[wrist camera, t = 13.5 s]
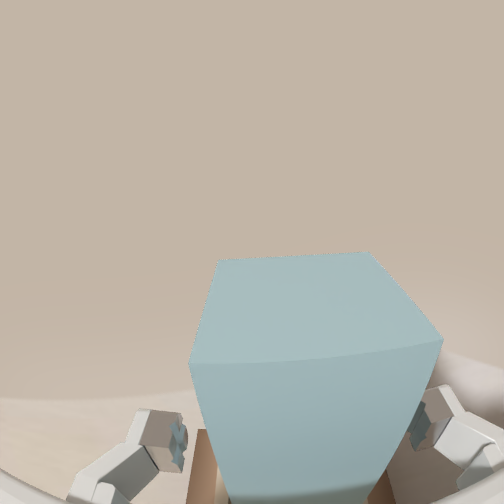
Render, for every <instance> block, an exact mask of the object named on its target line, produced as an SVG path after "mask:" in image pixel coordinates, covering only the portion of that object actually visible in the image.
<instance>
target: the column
mask: <svg viewBox="0 0 504 504" xmlns="http://www.w3.org/2000/svg"><path fill="white" fill-rule="evenodd" d="M443 340H444V339H443V338H442V336H441V335H440V334H439V332H438V331H437V330H436V329H435V327H434V326H433V325H432V324H431V322H430V321H429V320H428V319H427V318H426V316H425V315H424V314H423V313H422V311H421V310H420V309H419V308H418V307H417V306H416V304H415V303H414V302H413V301H412V300H411V299H410V297H409V296H408V295H407V294H406V293H405V291H404V290H403V289H402V288H401V287H400V286H399V285H398V283H397V282H396V281H395V280H394V279H393V278H392V277H391V276H390V275H389V274H388V272H387V271H386V270H385V269H384V268H383V267H382V266H381V265H380V263H379V262H378V261H377V260H376V259H375V258H374V257H373V256H372V255H371V254H370V253H369V252H357V253H339V254H323V255H303V256H287V257H286V256H285V257H268V258H267V257H266V258H248V259H228V260H218V263H217V267H216V270H215V273H214V277H213V280H212V283H211V286H210V290H209V294H208V297H207V300H206V303H205V307H204V310H203V314H202V317H201V320H200V324H199V327H198V331H197V334H196V338H195V342H194V345H193V348H192V352H191V355H190V359H189V363H188V364H189V368H190V372H191V376H192V380H193V384H194V388H195V391H196V395H197V399H198V402H199V406H200V409H201V413H202V416H203V420H204V423H205V427H206V430H207V433H208V436H209V440H210V443H211V446H212V449H213V452H214V455H215V458H216V461H217V464H218V467H219V470H220V473H221V476H222V479H223V481H224V484H225V487H226V490H227V493H228V495H229V498H230V501H231V503H232V504H363V502H364V501H365V499H366V498H367V497H368V495H369V494H370V492H371V491H372V489H373V488H374V486H375V485H376V483H377V481H378V480H379V478H380V477H381V475H382V473H383V472H384V470H385V469H386V467H387V465H388V464H389V462H390V460H391V458H392V457H393V455H394V453H395V451H396V449H397V448H398V446H399V444H400V442H401V440H402V438H403V436H404V434H405V432H406V430H407V429H408V426H409V424H410V422H411V420H412V418H413V416H414V414H415V412H416V410H417V408H418V405H419V403H420V401H421V399H422V396H423V394H424V391H425V389H426V387H427V384H428V382H429V379H430V377H431V374H432V371H433V369H434V366H435V363H436V361H437V358H438V355H439V352H440V349H441V346H442V343H443Z"/></svg>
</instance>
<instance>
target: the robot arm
mask: <svg viewBox="0 0 504 504" xmlns="http://www.w3.org/2000/svg"><path fill="white" fill-rule="evenodd" d="M182 420H183V418H182V415H181V413H176V412H166V411H157V410H149V409H140V408H139V409H138V411H137V412H136V414H135V417H134V419H133V422H132V424H131V427H130V430H129V432H128V435H127V438H126V441H125V442H120V443H119V444H118V445H116V446H115V447H114V448H112V449H111V450H109V451H108V452H107V453H105V454H104V455H102V456H101V457H100V458H98V459H97V460H95V461H94V462H92V463H91V464H90V465H88V466H87V467H85V468H84V469H82V470H81V471H79V472H78V473H77V474H76V476H75V479H74V481H73V484H72V486H71V488H70V491H69V493H68V496H67V498H66V501H65V500H63V499H60V498H58V497H56V496H53V495H51V494H49V493H47V492H44V491H42V490H40V489H38V488H36V487H34V486H32V485H30V484H28V483H26V482H24V481H22V480H20V479H18V478H16V477H15V476H13V475H11V474H9V473H8V472H6V471H4V470H2V469H0V504H131V503H130V501H131V500H132V499H133V498H134V497H135V496H136V495H137V494H138V493H139V492H140V491H141V490H142V489H143V488H144V487H145V486H146V485H147V484H148V483H149V482H150V481H151V480H152V479H153V478H154V477H155V476H156V475H157V474H158V473H159V471H163V472H172V473H182V470H183V465H184V460H185V458H184V456H183V454H182V453H183V452H184V451H185V450H186V449H187V444H188V433H187V429H186V426H185V425H184V424H182ZM407 431H408V432H410V433H411V436H410V441H411V444H412V446H413V449H414V451H415V452H416V451H419V450H423V449H426V448H429V447H432V446H434V448H435V449H437V450H438V451H439V452H440V453H442V454H443V455H444V456H446V457H447V458H448V459H449V460H451V461H452V462H453V463H455V464H456V465H457V466H459V467H460V468H461V469H463V470H464V472H463V473H462V474H461V475H460V476H459V477H458V478H457V480H456V484H457V487H458V489H459V491H458V492H456V493H454V494H451V495H449V496H447V497H444V498H442V499H440V500H437V501H435V502H432V503H430V504H504V429H502V428H500V427H498V426H496V425H494V424H492V423H490V422H488V421H486V420H484V419H483V418H481V417H479V416H477V415H475V414H473V413H471V412H469V411H468V412H465V410H464V409H463V407H462V405H461V404H460V402H459V400H458V399H457V397H456V396H455V394H454V392H453V391H452V389H451V388H450V386H449V385H447V384H444V385H441V386H437V387H432V388H429V389H425V391H424V394H423V396H422V399H421V401H420V403H419V405H418V408H417V410H416V412H415V414H414V416H413V418H412V420H411V422H410V424H409V426H408V429H407Z"/></svg>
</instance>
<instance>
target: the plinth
mask: <svg viewBox="0 0 504 504" xmlns="http://www.w3.org/2000/svg"><path fill="white" fill-rule="evenodd" d="M186 504H232V503H231V501H230V498H229V495H228V493H227V490H226V487H225V484H224V481H223V479H222V476H221V473H220V470H219V467H218V464H217V461H216V458H215V455H214V452H213V449H212V446H211V443H210V440H209V436H208V433H207V430H206V429H198V433H197V439H196V445H195V451H194V457H193V463H192V469H191V475H190V481H189V487H188V493H187V499H186ZM363 504H396V502H395V499H394V495H393V492H392V488H391V485H390V482H389V478H388V475H387V472H386V469H385V470H384V472H383V473H382V475H381V477H380V478H379V480H378V481H377V483H376V485H375V486H374V488H373V489H372V491H371V492H370V494H369V495H368V497H367V498H366V499H365V501H364V502H363Z"/></svg>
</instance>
